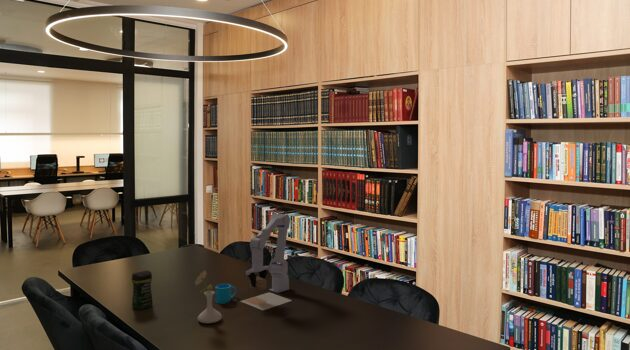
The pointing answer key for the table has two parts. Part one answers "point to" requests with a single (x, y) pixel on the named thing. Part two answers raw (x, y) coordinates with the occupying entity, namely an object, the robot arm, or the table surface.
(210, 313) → the flower in vase
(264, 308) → the card mat
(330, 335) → the table surface
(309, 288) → the table surface
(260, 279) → the box
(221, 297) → the mug
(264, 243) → the robot arm
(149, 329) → the table surface
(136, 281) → the coffee jar
